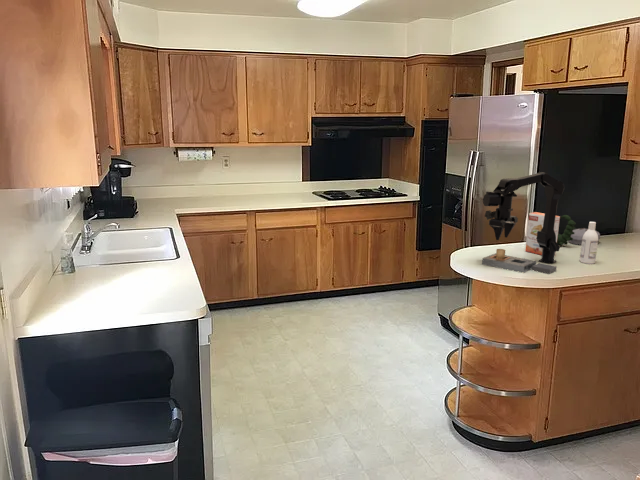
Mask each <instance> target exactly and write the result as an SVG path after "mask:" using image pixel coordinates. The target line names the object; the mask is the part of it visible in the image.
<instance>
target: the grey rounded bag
mask: <svg viewBox="0 0 640 480" xmlns="http://www.w3.org/2000/svg"><path fill="white" fill-rule="evenodd" d="M587 230H588V228H586V227H583V228H582V227H581V228H575V229H573V230H572V231H573V232H574V234H572V235H571V237H572V238H573V240H570V241H568V243H571V244H574V245H578V244H579V245H580V246H581V245H582V238H583V235H584V233H585V232H586V231H587ZM595 231H596V233H597V235H598V242H599V240H601V233H600V232H599V231H597V230H595Z"/></svg>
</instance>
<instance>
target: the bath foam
mask: <svg viewBox="0 0 640 480" xmlns="http://www.w3.org/2000/svg"><path fill="white" fill-rule="evenodd" d="M596 224H597V222H596V221H589V223H588V228H587V229H588V230H587V231H586V232H585V233H584V235H583V238H582V245H580V252H579V253H580V254H579V262H580V263H583V264H589V265H592V264H595V263H596V259H597V253H598V252H597V251H598V245H599V241H598V235H597V233H596V231H597V230H596V226H597V225H596Z"/></svg>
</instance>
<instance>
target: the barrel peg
mask: <svg viewBox="0 0 640 480" xmlns="http://www.w3.org/2000/svg"><path fill="white" fill-rule="evenodd" d="M495 251H496V258H498V259H505V255H506V249H504V248H496V250H495Z"/></svg>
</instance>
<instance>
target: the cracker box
mask: <svg viewBox="0 0 640 480" xmlns="http://www.w3.org/2000/svg"><path fill="white" fill-rule="evenodd" d="M528 215H529V216H528V223H527V231H526V239H525V240H526V241H525V249H524V250H525V252H527V253H532V254H535V255H540V256H542V250H543V248H540V247H539V244H538V242H537V239H536V238H537V232H538V231H541V229H542V228H543V223H544V216H545V212H544V213H542V212H537V211H533V212H529V214H528ZM560 219H561V215H560V216H559V215H556V217H555V224H554V231H555V234H556V242H557V237H558V234H559V227H560ZM556 252H557V251H556ZM556 252H555V254H556Z"/></svg>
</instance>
